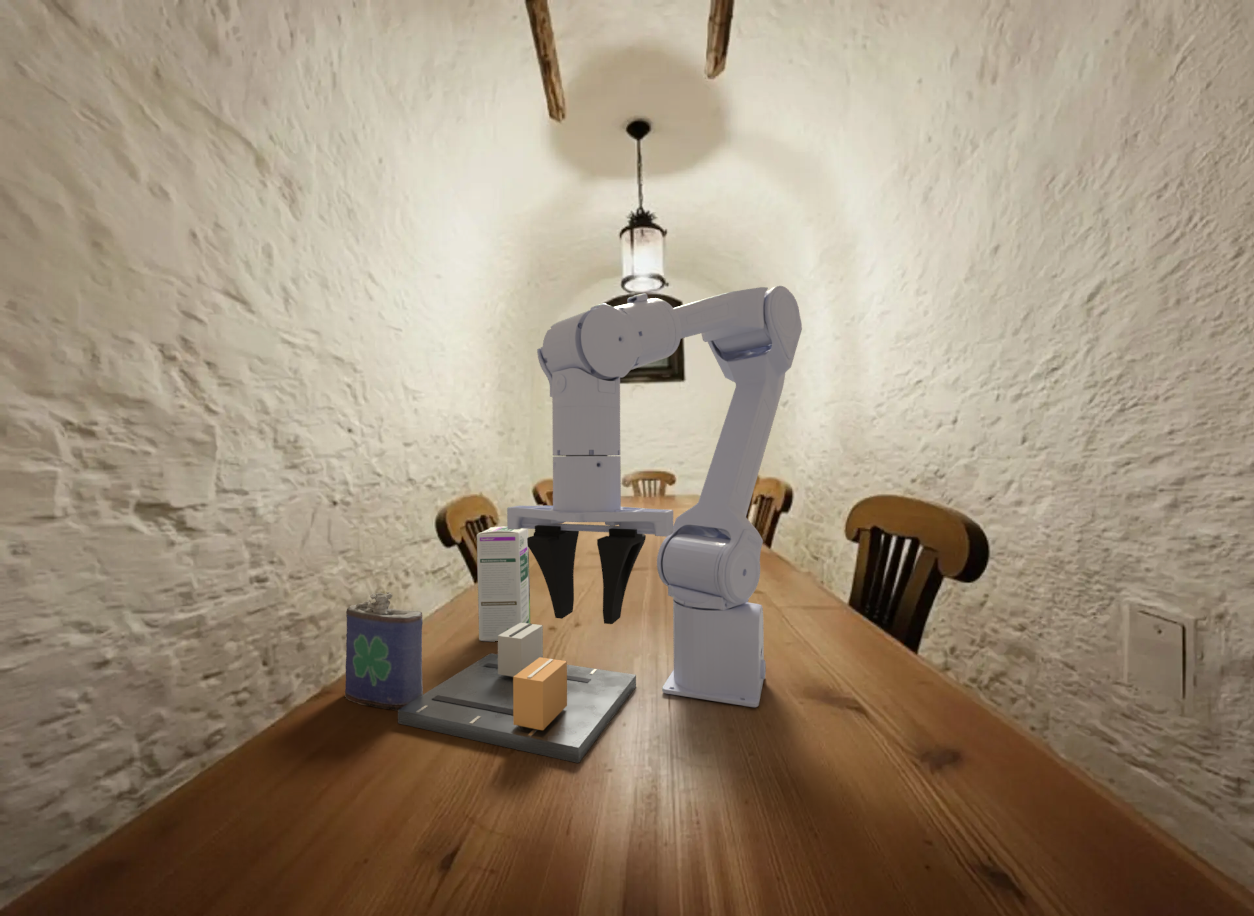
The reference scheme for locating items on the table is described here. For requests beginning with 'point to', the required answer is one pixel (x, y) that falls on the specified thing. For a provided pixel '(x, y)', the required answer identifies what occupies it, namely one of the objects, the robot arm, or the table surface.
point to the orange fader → (539, 693)
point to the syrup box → (502, 580)
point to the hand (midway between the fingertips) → (587, 617)
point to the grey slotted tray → (486, 709)
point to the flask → (383, 654)
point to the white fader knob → (519, 648)
